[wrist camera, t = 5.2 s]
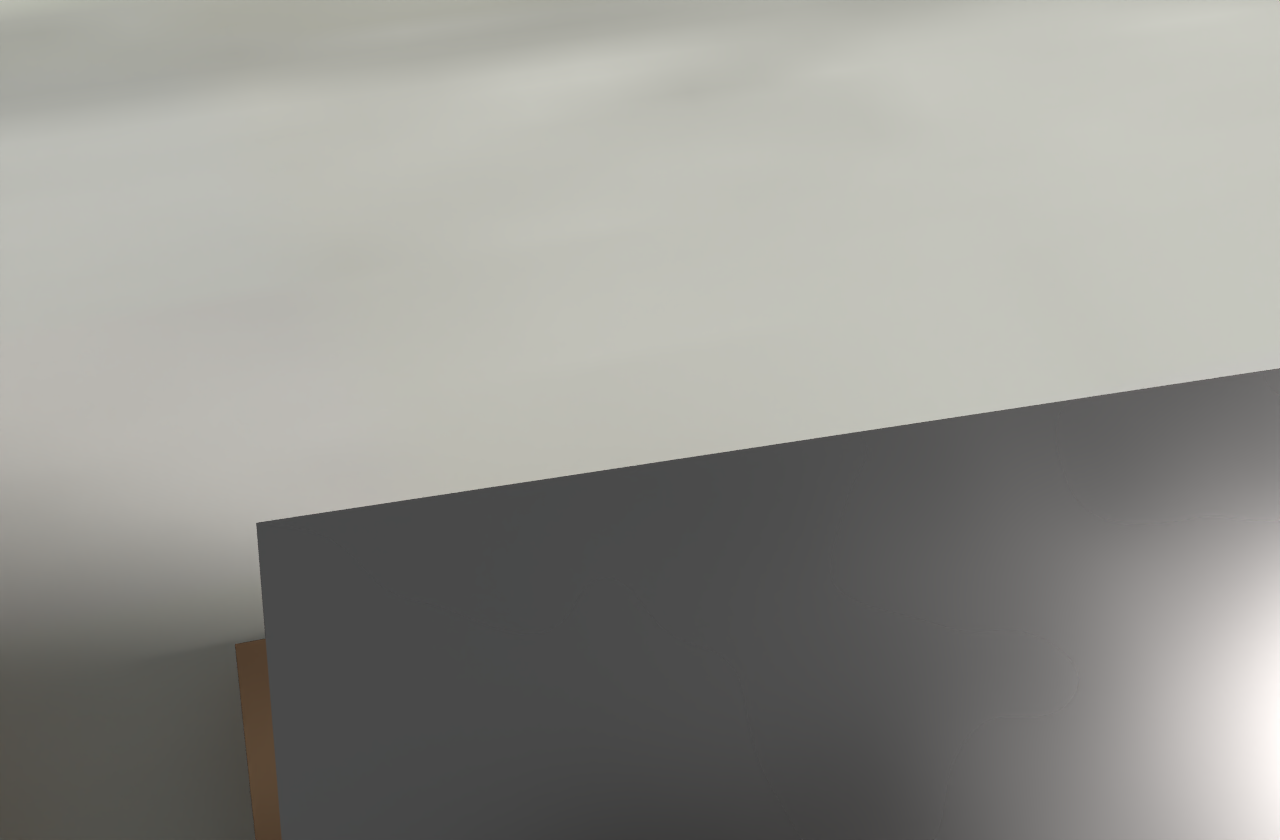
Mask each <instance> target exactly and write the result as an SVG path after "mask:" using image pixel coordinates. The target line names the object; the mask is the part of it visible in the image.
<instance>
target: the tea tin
mask: <svg viewBox="0 0 1280 840" xmlns="http://www.w3.org/2000/svg"><path fill="white" fill-rule="evenodd" d="M256 525H257V537H258V550H259V562H260V575H261V587H262V600H263V612H264V625H265V637H266V650H267V662H268V675H269V687H270V700H271V712H272V725H273V737H274V750H275V762H276V775H277V787H278V800H279V812H280V825H281V837H282V840H1280V368H1279V369H1272V370H1266V371H1259V372H1253V373H1246V374H1239V375H1233V376H1226V377H1219V378H1213V379H1206V380H1200V381H1193V382H1186V383H1180V384H1173V385H1166V386H1160V387H1153V388H1147V389H1140V390H1133V391H1127V392H1120V393H1113V394H1107V395H1100V396H1094V397H1087V398H1080V399H1074V400H1067V401H1060V402H1054V403H1047V404H1041V405H1034V406H1027V407H1021V408H1014V409H1007V410H1001V411H994V412H988V413H981V414H974V415H968V416H961V417H955V418H948V419H941V420H935V421H928V422H921V423H915V424H908V425H902V426H895V427H888V428H882V429H875V430H868V431H862V432H855V433H849V434H842V435H835V436H829V437H822V438H815V439H809V440H802V441H796V442H789V443H782V444H776V445H769V446H762V447H756V448H749V449H743V450H736V451H729V452H723V453H716V454H709V455H703V456H696V457H690V458H683V459H676V460H670V461H663V462H656V463H650V464H643V465H637V466H630V467H623V468H617V469H610V470H603V471H597V472H590V473H584V474H577V475H570V476H564V477H557V478H550V479H544V480H537V481H531V482H524V483H517V484H511V485H504V486H497V487H491V488H484V489H478V490H471V491H464V492H458V493H451V494H444V495H438V496H431V497H425V498H418V499H411V500H405V501H398V502H391V503H385V504H378V505H372V506H365V507H358V508H352V509H345V510H339V511H332V512H325V513H319V514H312V515H305V516H299V517H292V518H286V519H279V520H272V521H266V522H259V523H256Z"/></svg>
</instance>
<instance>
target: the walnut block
mask: <svg viewBox="0 0 1280 840" xmlns="http://www.w3.org/2000/svg"><path fill="white" fill-rule="evenodd" d="M235 649H236V659H237V668H238V678H239V687H240V697H241V706H242V716H243V725H244V735H245V744H246V754H247V763H248V773H249V782H250V792H251V801H252V811H253V820H254V830H255V839H256V840H282V837H281V825H280V812H279V800H278V787H277V775H276V762H275V750H274V737H273V725H272V712H271V700H270V687H269V675H268V662H267V650H266V639H261V640H255V641H250V642H245V643H239V644H235Z"/></svg>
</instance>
